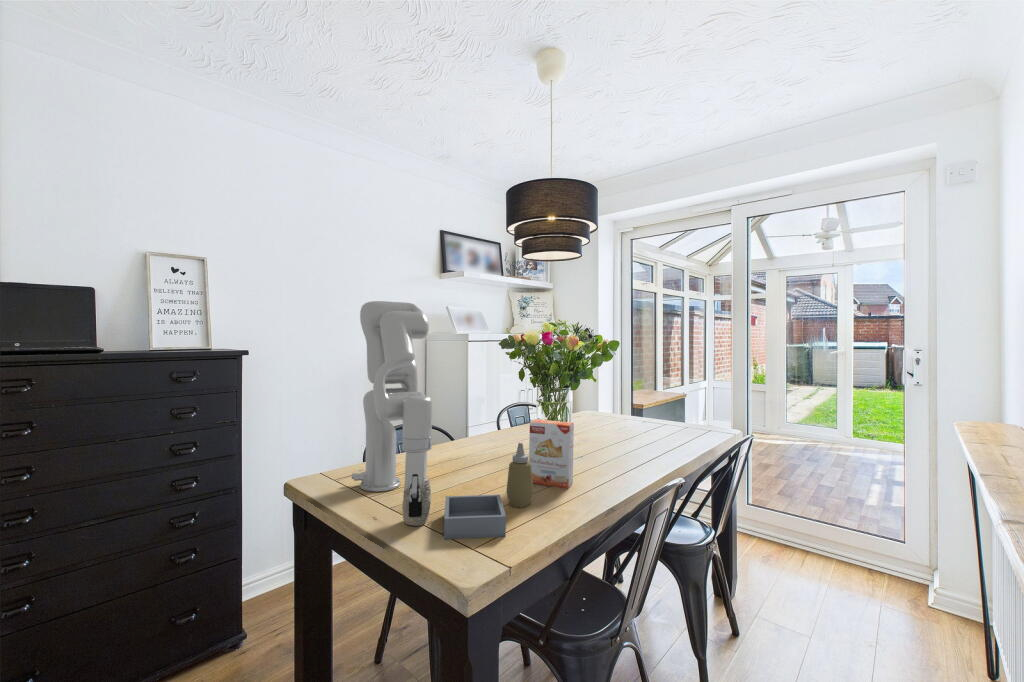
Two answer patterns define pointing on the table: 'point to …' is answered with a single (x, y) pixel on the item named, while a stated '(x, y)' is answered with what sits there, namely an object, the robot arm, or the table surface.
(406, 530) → the table surface
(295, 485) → the table surface
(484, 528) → the bin
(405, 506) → the carving
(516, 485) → the squeeze bottle
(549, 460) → the cracker box
